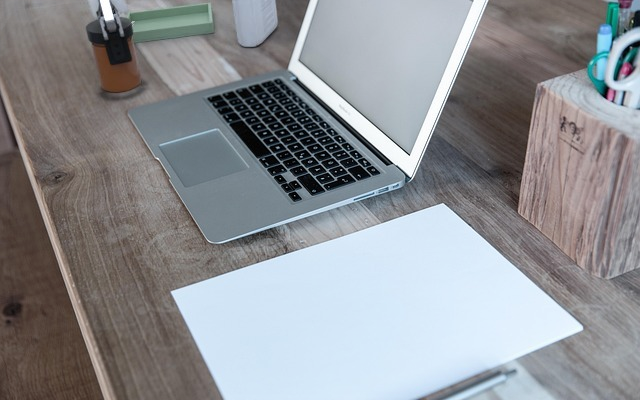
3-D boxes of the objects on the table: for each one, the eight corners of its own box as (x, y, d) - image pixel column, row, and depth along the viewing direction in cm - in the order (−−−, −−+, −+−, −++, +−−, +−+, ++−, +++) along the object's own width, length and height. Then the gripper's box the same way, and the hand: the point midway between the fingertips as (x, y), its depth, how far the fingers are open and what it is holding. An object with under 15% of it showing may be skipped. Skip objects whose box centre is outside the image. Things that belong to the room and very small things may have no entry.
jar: (99, 94, 105) (86, 40, 100) (102, 77, 110) (90, 25, 105) (140, 89, 106) (129, 36, 101) (142, 72, 111) (131, 21, 106)
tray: (125, 44, 121) (122, 33, 120) (129, 22, 129) (126, 12, 128) (214, 32, 122) (212, 22, 121) (212, 12, 130) (211, 2, 129)
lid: (81, 34, 104) (78, 23, 103) (122, 23, 107) (120, 13, 106) (98, 48, 100) (95, 36, 99) (140, 36, 103) (138, 25, 102)
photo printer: (258, 23, 124) (249, -49, 117) (281, 25, 123) (273, -48, 116) (235, 47, 116) (223, -28, 109) (259, 49, 115) (249, -28, 108)
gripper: (119, -61, 89) (152, 70, 99) (107, -89, 102) (137, 29, 113) (58, -51, 87) (97, 82, 98) (54, -80, 101) (89, 39, 111)
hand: (118, 52), depth 105 cm, fingers closed on lid, 6 cm apart
